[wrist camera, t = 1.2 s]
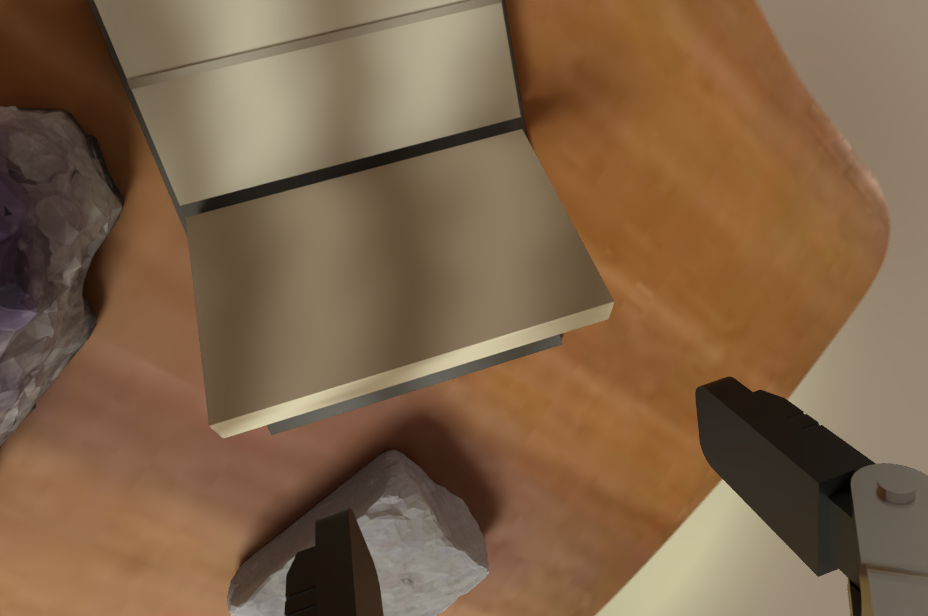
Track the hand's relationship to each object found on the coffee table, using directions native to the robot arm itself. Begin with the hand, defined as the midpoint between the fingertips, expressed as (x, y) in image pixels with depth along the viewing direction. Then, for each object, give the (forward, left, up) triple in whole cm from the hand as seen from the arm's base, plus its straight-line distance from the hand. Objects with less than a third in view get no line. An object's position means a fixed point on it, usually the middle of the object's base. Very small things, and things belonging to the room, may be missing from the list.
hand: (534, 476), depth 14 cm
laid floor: (-1, +4, -16) cm, 17 cm away
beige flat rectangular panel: (-1, +1, -12) cm, 12 cm away
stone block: (-7, -16, -17) cm, 24 cm away
